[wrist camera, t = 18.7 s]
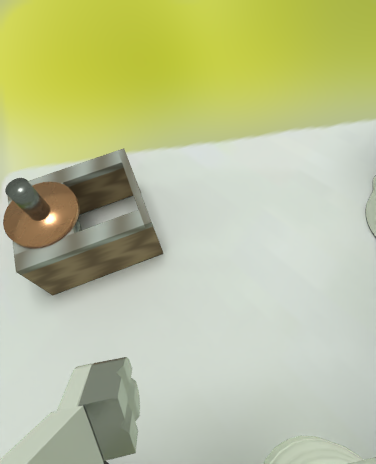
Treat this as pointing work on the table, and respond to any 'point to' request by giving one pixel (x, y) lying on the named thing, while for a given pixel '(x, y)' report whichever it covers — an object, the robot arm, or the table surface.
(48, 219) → the spinning top
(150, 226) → the wood and metal frame
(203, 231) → the table surface
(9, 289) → the table surface
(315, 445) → the white ridged cone
